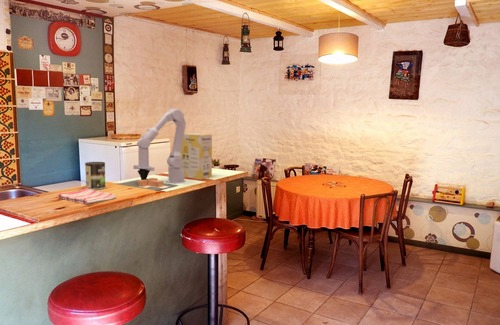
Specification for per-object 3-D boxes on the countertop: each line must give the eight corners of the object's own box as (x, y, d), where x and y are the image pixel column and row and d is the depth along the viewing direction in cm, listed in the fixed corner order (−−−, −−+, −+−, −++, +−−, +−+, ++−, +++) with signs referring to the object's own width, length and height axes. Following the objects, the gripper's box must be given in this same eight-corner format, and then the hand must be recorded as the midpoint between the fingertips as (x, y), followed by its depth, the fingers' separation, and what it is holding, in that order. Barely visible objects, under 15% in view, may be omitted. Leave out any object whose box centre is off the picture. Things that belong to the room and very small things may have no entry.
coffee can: (109, 186, 233) (108, 162, 231) (99, 190, 223) (98, 164, 221) (92, 185, 235) (91, 161, 233) (81, 189, 225) (81, 163, 223)
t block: (152, 182, 245) (152, 177, 245) (168, 185, 239) (168, 180, 239) (137, 185, 235) (137, 180, 234) (153, 188, 229) (153, 183, 229)
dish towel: (87, 193, 217) (87, 186, 217) (117, 199, 205) (117, 192, 205) (57, 199, 203) (56, 192, 203) (87, 206, 191) (87, 198, 190)
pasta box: (211, 177, 270) (211, 134, 267) (200, 179, 262) (200, 135, 258) (191, 174, 281) (191, 132, 277) (180, 176, 273) (180, 133, 269)
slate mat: (138, 180, 255) (138, 179, 255) (178, 185, 240) (178, 185, 240) (115, 184, 239) (115, 184, 239) (156, 191, 224) (156, 190, 224)
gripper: (129, 158, 239) (129, 181, 241) (148, 160, 232) (148, 184, 234) (138, 157, 245) (138, 180, 247) (156, 159, 238) (157, 182, 240)
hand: (143, 182), depth 241 cm, fingers closed
